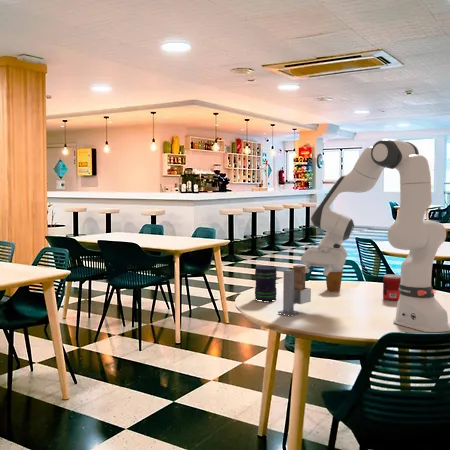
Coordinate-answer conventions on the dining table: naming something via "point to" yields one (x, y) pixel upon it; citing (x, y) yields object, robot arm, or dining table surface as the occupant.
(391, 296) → the canned food
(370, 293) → the dining table surface
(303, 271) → the rail
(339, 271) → the disposable coffee cup
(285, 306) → the bracket
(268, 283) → the rusty blue barrel
